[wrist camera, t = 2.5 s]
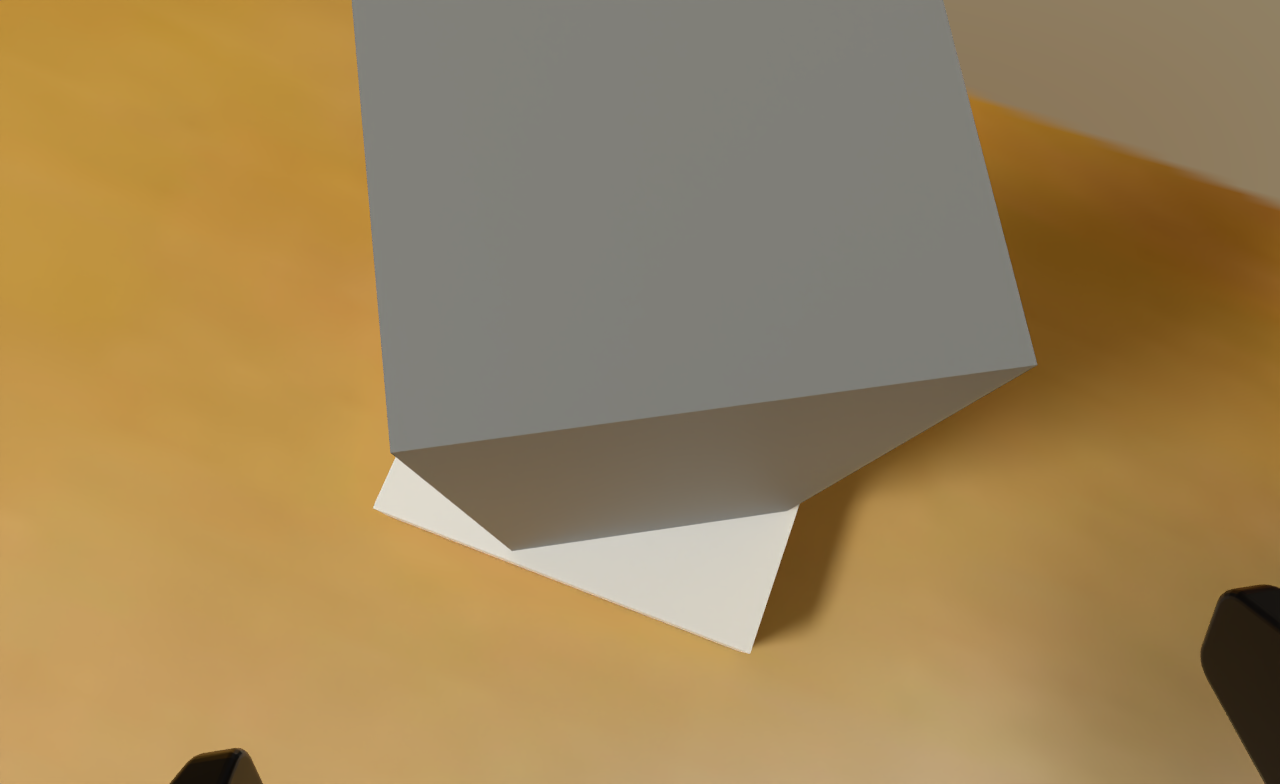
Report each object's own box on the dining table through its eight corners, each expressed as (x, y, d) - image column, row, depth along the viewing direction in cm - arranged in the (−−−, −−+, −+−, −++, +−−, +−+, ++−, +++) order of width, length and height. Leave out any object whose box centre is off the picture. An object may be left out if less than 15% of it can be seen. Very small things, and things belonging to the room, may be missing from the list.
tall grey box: (787, 511, 19) (1037, 364, 8) (512, 551, 18) (390, 453, 8) (739, 255, 20) (900, -162, 9) (481, 287, 20) (342, -112, 9)
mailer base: (850, 316, 21) (924, 226, 17) (738, 651, 19) (785, 661, 15) (530, 198, 22) (510, 77, 17) (389, 516, 20) (322, 482, 15)
